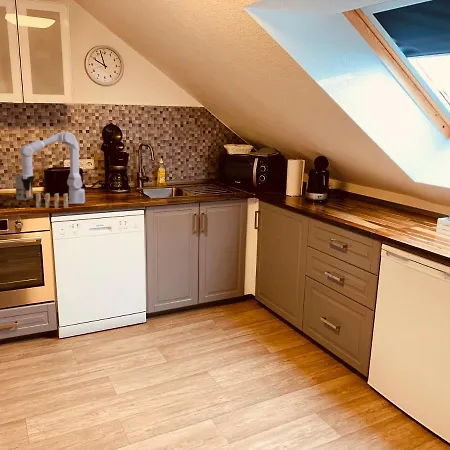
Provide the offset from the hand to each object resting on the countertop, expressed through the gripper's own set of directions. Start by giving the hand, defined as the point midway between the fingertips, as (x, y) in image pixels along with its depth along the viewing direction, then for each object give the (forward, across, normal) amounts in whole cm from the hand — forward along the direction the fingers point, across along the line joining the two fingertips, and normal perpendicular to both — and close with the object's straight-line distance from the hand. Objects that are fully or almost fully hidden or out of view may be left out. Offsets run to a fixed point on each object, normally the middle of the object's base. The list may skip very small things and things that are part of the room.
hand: (28, 189), depth 280 cm
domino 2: (+10, 0, +10) cm, 15 cm away
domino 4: (+10, 0, +21) cm, 23 cm away
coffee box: (+11, -26, -9) cm, 30 cm away
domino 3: (+10, 0, +16) cm, 19 cm away
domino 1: (+10, 0, +5) cm, 12 cm away
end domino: (+4, 0, 0) cm, 4 cm away
